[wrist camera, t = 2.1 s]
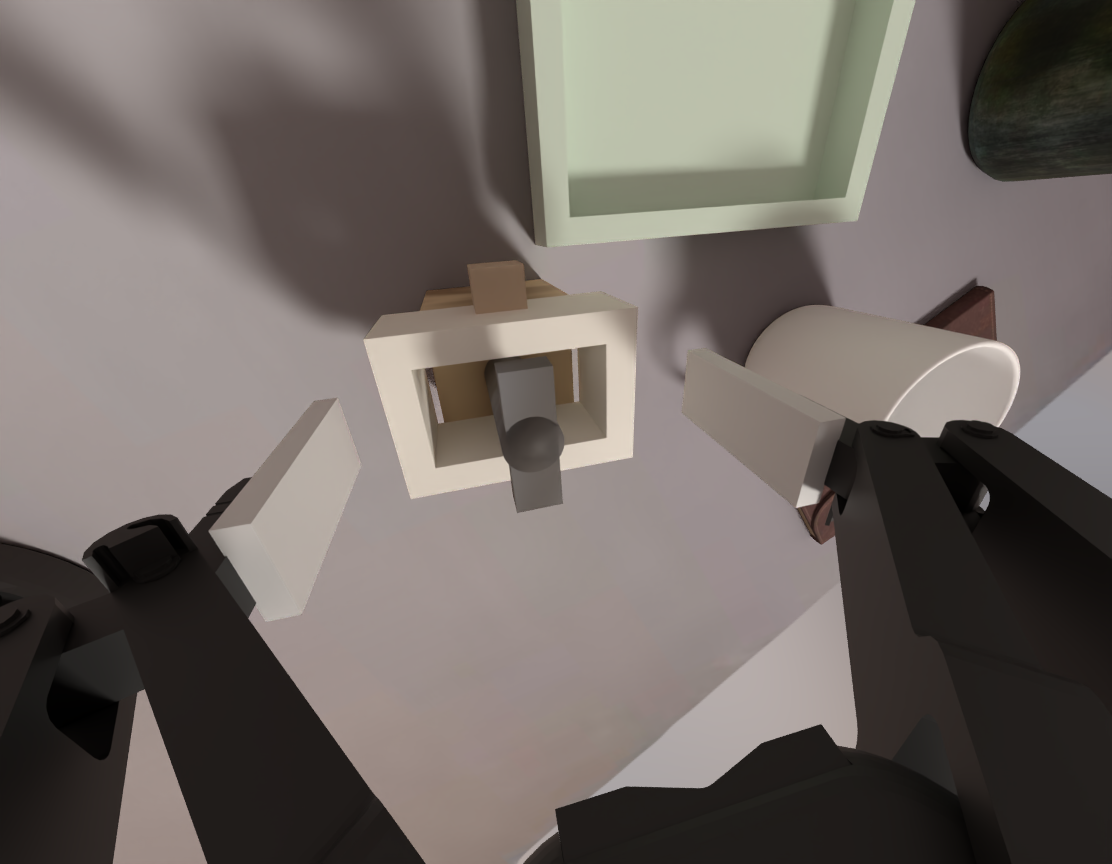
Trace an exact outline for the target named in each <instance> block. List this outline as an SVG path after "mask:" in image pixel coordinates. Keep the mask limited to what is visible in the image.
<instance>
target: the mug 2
mask: <svg viewBox="0 0 1112 864" xmlns="http://www.w3.org/2000/svg"><path fill="white" fill-rule="evenodd" d="M968 136H969V146H970V150H971V154H972V157H973V159H974V161H975V163H976V165H977V166H978V167H979V168H980V169H981V170H982V171H983V172H984V173H986V174H987V175H989V176H990V177H992V178H993V179H995V180H999V181H1003V182H1005V181H1024V180H1036V179H1049V178H1062V177H1075V176H1087V175H1100V174H1112V0H1026V1H1025V2H1024V3H1023V4H1022V5H1021V6H1020V7H1019V8H1018V9H1017V11H1016V12H1015V13H1014V15H1013V16H1012V17H1011V18H1010V20H1009V21H1008V22H1007V24H1006V25H1005V27H1004V29H1003V30H1002V32H1001V33H1000V35H999V36H998V38H997V40H996V42H995V43H994V45H993V47H992V49H991V51H990V53H989V55H988V57H987V59H986V61H985V64H984V66H983V68H982V71H981V73H980V76H979V79H978V82H977V85H976V88H975V91H974V95H973V99H972V103H971V109H970V115H969V128H968Z"/></svg>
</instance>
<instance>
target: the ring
mask: <svg viewBox="0 0 1112 864" xmlns="http://www.w3.org/2000/svg"><path fill="white" fill-rule="evenodd" d="M467 269H468V275H469V281H470V288H471V294H472V300H473V305H471V306H462V307H453V308H443V309H434V310H425V311H416V312H406V313H397V314H388V315H381V317H380V318H379V319H378V321H377V322H376V323H375V325H374V326H373V327H372V329H371V330H370V331H369V333H368V334H367V335H366V337H365V338H364V339H363V340H364V344H365V347H366V350H367V354H368V357H369V360H370V364H371V367H372V370H373V374H374V377H375V380H376V384H377V387H378V390H379V394H380V397H381V400H382V404H383V407H384V411H385V414H386V417H387V421H388V424H389V427H390V431H391V434H392V437H393V441H394V444H395V447H396V451H397V454H398V457H399V461H400V464H401V467H402V471H403V474H404V478H405V481H406V484H407V488H408V491H409V494H410V498H411V499H414V498H419V497H424V496H430V495H435V494H440V493H446V492H451V491H456V490H461V489H467V488H472V487H477V486H483V485H488V484H493V483H499V482H504V481H509V480H511V477H510V470H509V464H508V463H507V462H506V460H505V459H504V456H503V453H502V449H501V445H500V441H499V436H498V432H497V428H496V423H495V419H494V415H490V416H484V417H478V418H471V419H465V420H459V421H452V422H446V423H440V424H438V421H437V417H436V413H435V408H434V404H433V400H432V395H431V391H430V387H429V382H428V378H427V374H426V369H425V368H431V367H438V366H446V365H453V364H461V363H468V362H476V361H483V360H491V359H498V358H506V357H513V356H521V355H528V354H536V353H543V352H551V351H558V350H566V349H573V348H578V374H579V400H580V401H579V402H573V403H566V404H560V405H556V414H557V423H558V425H559V426H560V428H561V430H562V432H563V435H564V449H563V452H562V454H561V456H560V471H562V470H567V469H573V468H578V467H583V466H589V465H594V464H599V463H605V462H610V461H615V460H620V459H626V458H631V457H633V433H634V404H635V375H636V345H637V316H638V307H636V306H634V305H631V304H629V303H627V302H624V301H622V300H620V299H617V298H615V297H613V296H611V295H608V294H606V293H604V292H591V293H582V294H573V295H564V296H554V297H545V298H536V299H527V295H526V285H525V274H524V264H522V263H520V262H518V261H516V260H511V261H500V262H489V263H478V264H467Z"/></svg>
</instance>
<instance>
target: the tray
mask: <svg viewBox="0 0 1112 864" xmlns="http://www.w3.org/2000/svg"><path fill="white" fill-rule="evenodd" d="M914 4H915V0H516V9H517V21H518V34H519V46H520V59H521V71H522V84H523V96H524V109H525V121H526V134H527V146H528V159H529V171H530V184H531V196H532V209H533V221H534V234H535V245H539V246H543V247H557V246H569V245H580V244H592V243H604V242H615V241H627V240H639V239H651V238H662V237H674V236H686V235H697V234H709V233H721V232H733V231H744V230H756V229H768V228H779V227H791V226H803V225H815V224H826V223H838V222H850V221H857V220H858V216H859V212H860V209H861V205H862V201H863V197H864V194H865V190H866V186H867V182H868V178H869V175H870V171H871V167H872V163H873V159H874V156H875V152H876V148H877V144H878V141H879V137H880V133H881V129H882V125H883V122H884V118H885V114H886V110H887V106H888V103H889V99H890V95H891V91H892V88H893V84H894V80H895V76H896V72H897V69H898V65H899V61H900V57H901V53H902V50H903V46H904V42H905V38H906V35H907V31H908V27H909V23H910V19H911V16H912V12H913V8H914Z"/></svg>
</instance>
